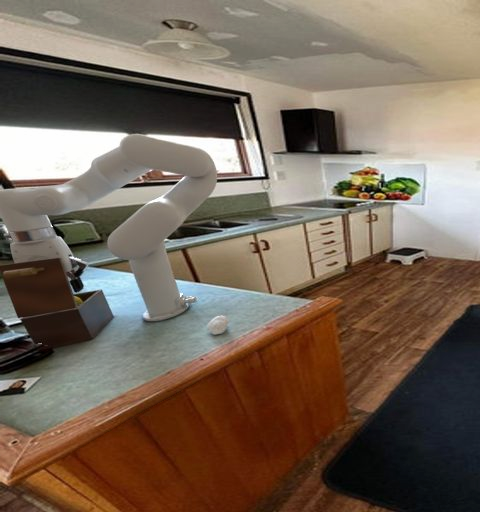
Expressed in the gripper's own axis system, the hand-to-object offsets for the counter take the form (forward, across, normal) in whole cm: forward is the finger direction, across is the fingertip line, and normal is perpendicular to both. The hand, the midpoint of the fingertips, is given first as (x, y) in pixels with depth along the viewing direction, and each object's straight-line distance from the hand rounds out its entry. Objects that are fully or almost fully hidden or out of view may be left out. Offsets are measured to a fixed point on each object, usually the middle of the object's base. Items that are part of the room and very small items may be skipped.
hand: (63, 292), depth 80 cm
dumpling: (+13, +40, -20) cm, 47 cm away
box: (+13, 0, -1) cm, 13 cm away
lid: (-5, 0, -6) cm, 8 cm away
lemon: (+9, 0, 0) cm, 9 cm away
